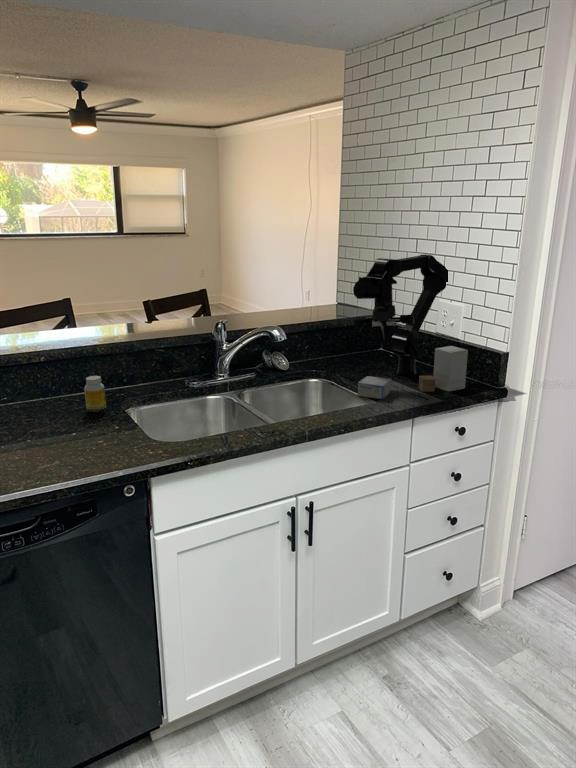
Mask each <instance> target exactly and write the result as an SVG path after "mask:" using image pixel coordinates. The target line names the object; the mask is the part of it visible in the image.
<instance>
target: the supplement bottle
mask: <svg viewBox="0 0 576 768" xmlns="http://www.w3.org/2000/svg"><path fill="white" fill-rule="evenodd" d="M85 383H86V384H85V386H84V388H83V389H84V399H85V406H86V408H87V409H86V411H87V410H101V409H104V408H106V409H107V400H106V392H105V391H106V390H105V389H106V388H105V385H104V384H103V383H102V377H101V376H100V375H90V376H87V377H85Z"/></svg>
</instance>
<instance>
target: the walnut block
mask: <svg viewBox="0 0 576 768" xmlns="http://www.w3.org/2000/svg"><path fill="white" fill-rule="evenodd" d="M418 377H419V378H418V379H419V380H418V389H419V391H420V392H426V393H427V392H436V391H435V389H436V387H435V378H434V377H433V375H419V376H418Z"/></svg>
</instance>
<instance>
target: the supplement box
mask: <svg viewBox="0 0 576 768" xmlns="http://www.w3.org/2000/svg"><path fill="white" fill-rule="evenodd" d="M468 353H469V350H468V349H467V348H466V349H465V348H462V347H457V346H454V345H448V346H442V347H436V348H434V363H433V375H432V376H433V377H434V378H435V388H437V389H441V390H442V391H446V392H452V391H453V392H454V391H458V390H463V389H465V388H466V382H467V381H466V380H467V379H466V378H467V367H468V366H467V365H468V357H469V356H468Z"/></svg>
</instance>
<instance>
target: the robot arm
mask: <svg viewBox="0 0 576 768" xmlns="http://www.w3.org/2000/svg"><path fill="white" fill-rule="evenodd" d="M419 269H420V274H421V275H422V276H423V278H422V288H423V289H422V291H421V292H420V295H419V297H418V298H417V301H416V302H415V305H414V307H413V309H412V311H411V313H410V314H400V315H399V316H396V306H395V304H394V305H393V302H394V301H393V285H397V284H398V281H397V280H395V279H394V278H395V277H397V276H400V274H401V273H404V272H408V271H414V270H419ZM447 269H448V268H446V266H445V265H444V264H442V263H441V262H440V261H438V259H436V258H435V256H433V255H432V254H423V253H422V254H420V255H416V256H410V257H404V258H403V257H402V258H398V259H395V258H394V259H393V258H381V257H379V258H376V260H374V263H373V264H372V267H371V268H370V270H369V271H368V272H367V274H366V276H358V280H357V281H356V282H355V283H354V286H352V287H353V289H352V291H353V295H354V297H355V298H356V299H357V300H362V299H363V300H368V299H369V300H372V299H373V301H374V306H373V310H372V317H371V318H369V316H359V317H358V316H356V317H354V318H353V327H357V326H363V327H364V326H367V325H372V326H371V328H372V329H375V330H376V332H377V334H378V336H379V340H380V342H381V345H382V347H383V348H387V345H388V342H389V339H390V336H391V333H392V331H393V330H394V328H396V329H395V331H394V333H393V335H392V336H391V341H390V344H391V348H392V351H393V352H392V353H393V355H395V356H398V363H397V364H398V365H397V366H398V367H397V369H396V376H412V377H413V376H414V377H415V376H416V375H417V370H416V360H418V359H420V358H422V355H423V350H422V349H421V347H420V346H419V345H418V344H419V342H420V337H419V335H420V334H419V331H420V329H421V327H422V325H423V323H424V321H425V319H426V317H427V316H428V313H429V311H430V310H431V307H432V305H433V303H434V301H435V299H436V297H437V295H438V294H440V293H441V292H443V291H444V290H445V289H446V287H447V286H446V282H448V270H449V269H448V270H447ZM397 323H401V324H405V325H403V327H397ZM383 324H386V325H385V326H384V325H383ZM384 329H385V331H384Z"/></svg>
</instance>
